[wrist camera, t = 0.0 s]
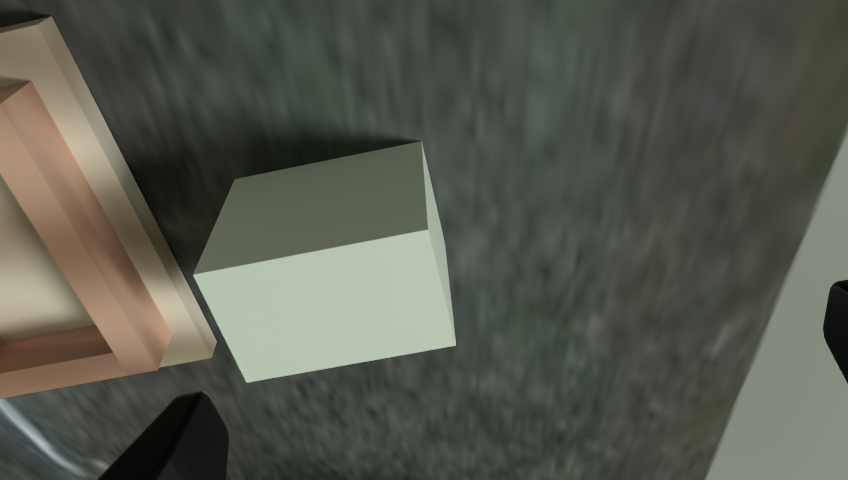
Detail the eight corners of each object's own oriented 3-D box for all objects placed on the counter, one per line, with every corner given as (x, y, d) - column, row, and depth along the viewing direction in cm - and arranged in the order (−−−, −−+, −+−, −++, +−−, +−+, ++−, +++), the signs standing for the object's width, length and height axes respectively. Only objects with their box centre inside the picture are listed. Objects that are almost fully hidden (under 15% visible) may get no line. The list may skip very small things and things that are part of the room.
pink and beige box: (217, 341, 28) (199, 393, 26) (1, 381, 29) (-36, 435, 27) (51, 16, 21) (4, 44, 18) (-234, 81, 22) (-317, 117, 19)
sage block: (444, 242, 26) (456, 345, 21) (274, 274, 27) (246, 382, 22) (421, 140, 24) (428, 229, 19) (235, 178, 24) (193, 275, 19)
